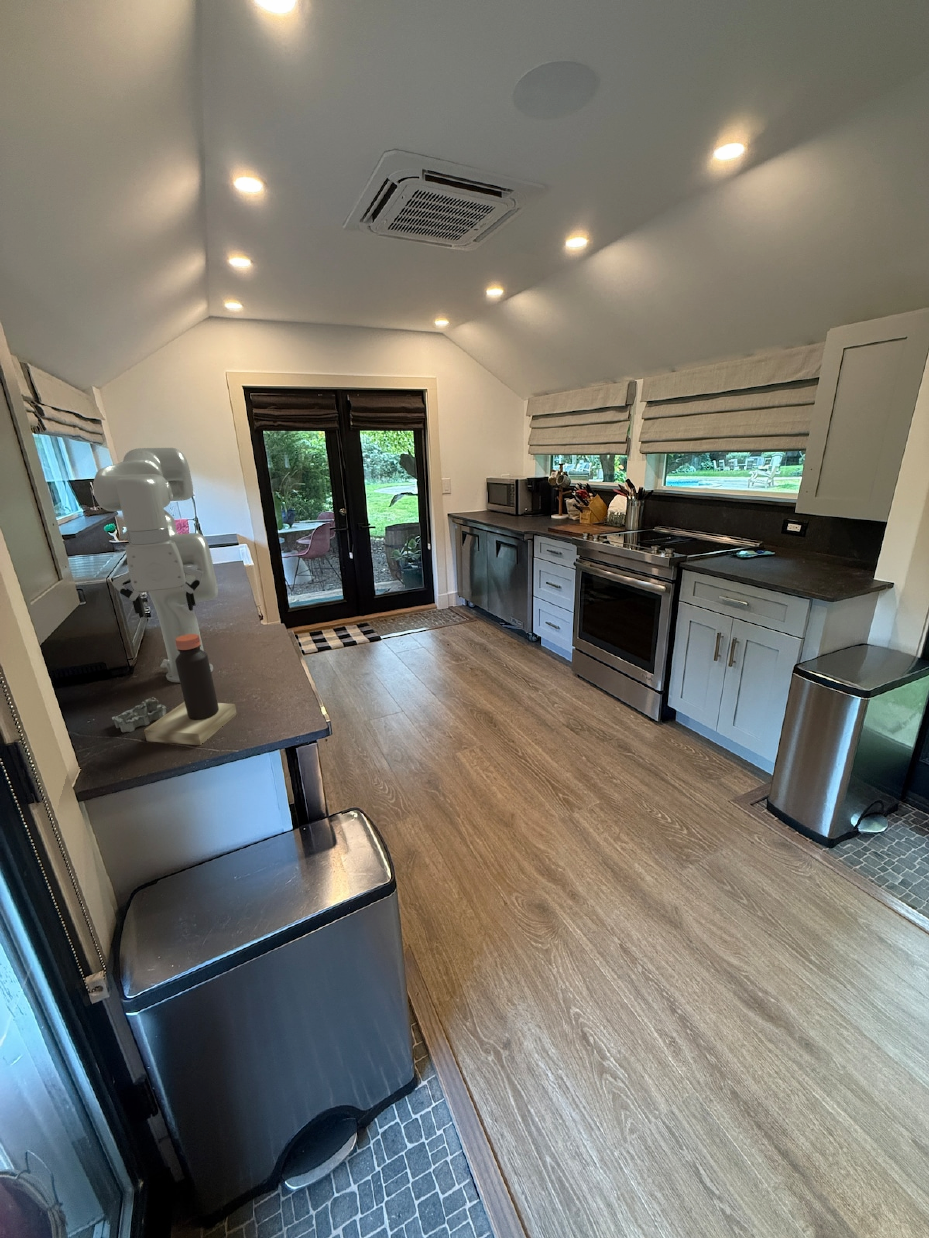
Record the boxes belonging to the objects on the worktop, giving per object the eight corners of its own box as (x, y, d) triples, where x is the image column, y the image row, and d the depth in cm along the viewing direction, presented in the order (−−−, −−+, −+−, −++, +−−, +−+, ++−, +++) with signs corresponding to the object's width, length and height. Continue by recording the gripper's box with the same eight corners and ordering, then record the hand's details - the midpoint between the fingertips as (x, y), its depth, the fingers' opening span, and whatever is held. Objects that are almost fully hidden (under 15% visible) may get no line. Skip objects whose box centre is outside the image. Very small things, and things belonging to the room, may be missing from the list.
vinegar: (203, 722, 116) (185, 644, 110) (181, 718, 118) (163, 641, 112) (225, 709, 122) (209, 633, 116) (204, 705, 124) (188, 631, 118)
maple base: (146, 741, 115) (143, 729, 114) (187, 711, 128) (185, 700, 127) (200, 745, 112) (198, 733, 111) (236, 714, 125) (234, 703, 124)
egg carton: (159, 709, 130) (156, 695, 128) (170, 717, 125) (167, 703, 124) (112, 725, 122) (108, 711, 121) (122, 735, 117) (118, 720, 116)
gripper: (97, 544, 98) (119, 623, 104) (194, 536, 105) (209, 611, 111) (104, 538, 105) (124, 613, 110) (195, 530, 112) (209, 602, 117)
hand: (167, 612), depth 111 cm, fingers open, 9 cm apart
